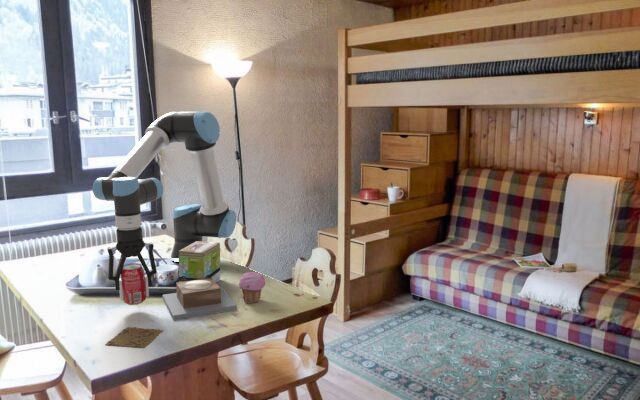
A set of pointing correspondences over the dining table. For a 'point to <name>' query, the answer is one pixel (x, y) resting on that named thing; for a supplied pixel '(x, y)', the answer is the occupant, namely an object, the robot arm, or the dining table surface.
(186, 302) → the block
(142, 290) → the soda can
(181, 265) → the tea box
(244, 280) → the cupcake
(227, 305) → the base board
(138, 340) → the brown flat square slab
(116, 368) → the dining table surface
